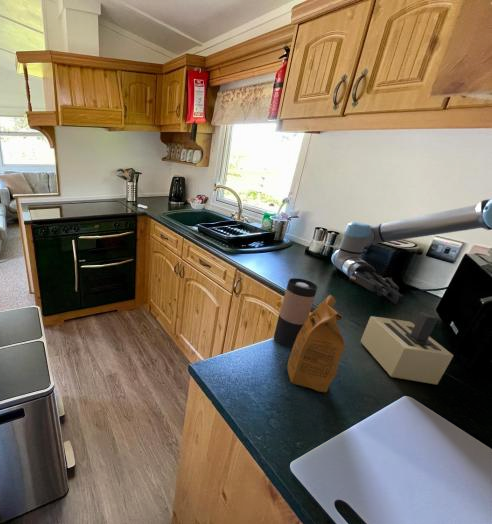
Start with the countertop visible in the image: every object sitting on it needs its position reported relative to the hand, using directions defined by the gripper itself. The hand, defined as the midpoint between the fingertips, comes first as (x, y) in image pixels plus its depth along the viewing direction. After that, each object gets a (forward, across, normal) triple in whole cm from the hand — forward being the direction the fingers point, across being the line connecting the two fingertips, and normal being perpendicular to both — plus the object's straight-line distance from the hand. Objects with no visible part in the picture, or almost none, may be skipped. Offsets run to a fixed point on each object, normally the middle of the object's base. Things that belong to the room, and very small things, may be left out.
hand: (400, 300), depth 85 cm
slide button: (+11, 0, -6) cm, 13 cm away
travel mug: (+5, +30, -17) cm, 34 cm away
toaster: (+7, 0, -17) cm, 18 cm away
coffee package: (+20, +28, -17) cm, 39 cm away
